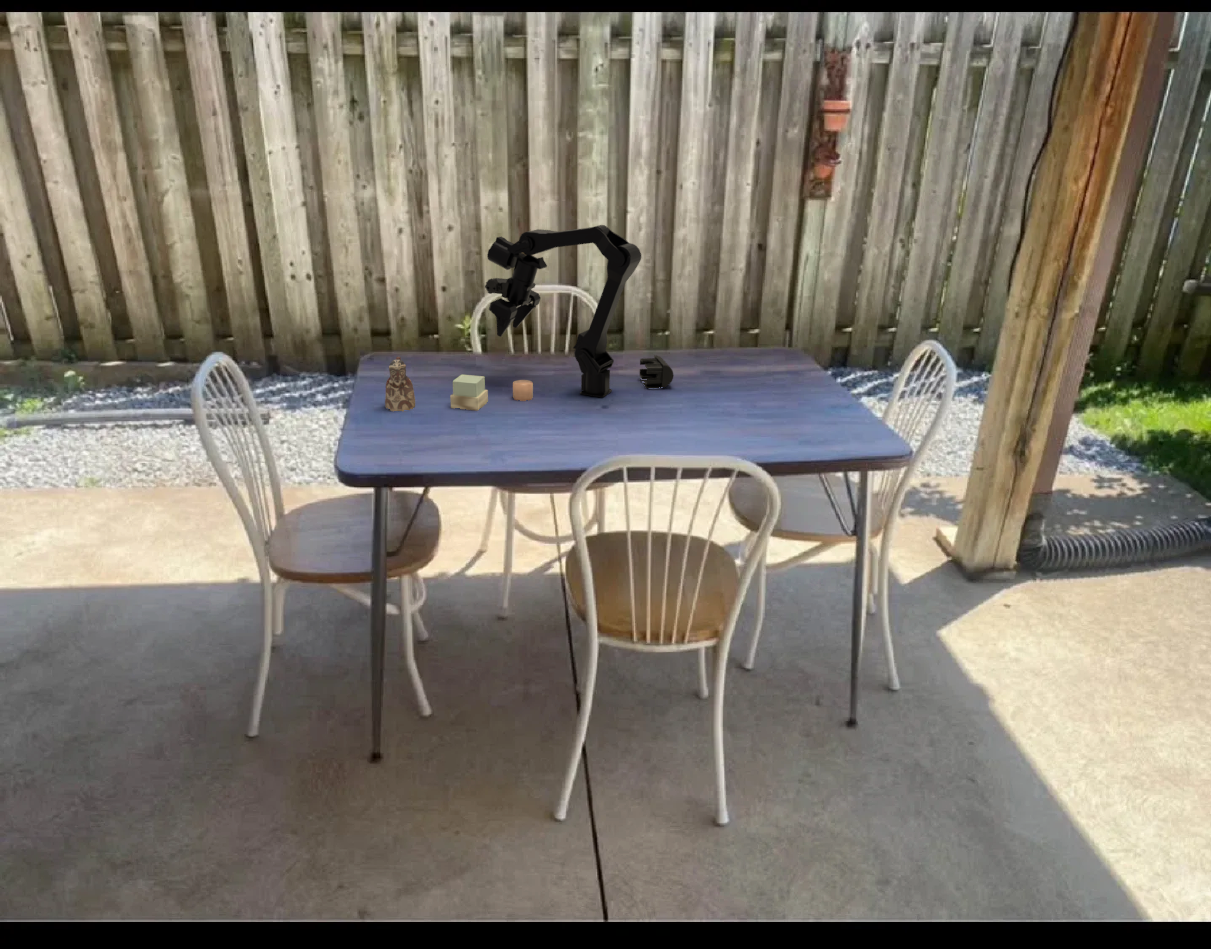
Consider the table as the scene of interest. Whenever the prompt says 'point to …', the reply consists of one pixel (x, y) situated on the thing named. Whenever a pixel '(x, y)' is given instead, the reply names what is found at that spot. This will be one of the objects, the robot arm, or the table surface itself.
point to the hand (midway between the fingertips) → (506, 331)
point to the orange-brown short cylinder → (522, 390)
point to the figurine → (399, 388)
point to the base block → (469, 401)
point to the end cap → (656, 372)
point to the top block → (468, 385)
